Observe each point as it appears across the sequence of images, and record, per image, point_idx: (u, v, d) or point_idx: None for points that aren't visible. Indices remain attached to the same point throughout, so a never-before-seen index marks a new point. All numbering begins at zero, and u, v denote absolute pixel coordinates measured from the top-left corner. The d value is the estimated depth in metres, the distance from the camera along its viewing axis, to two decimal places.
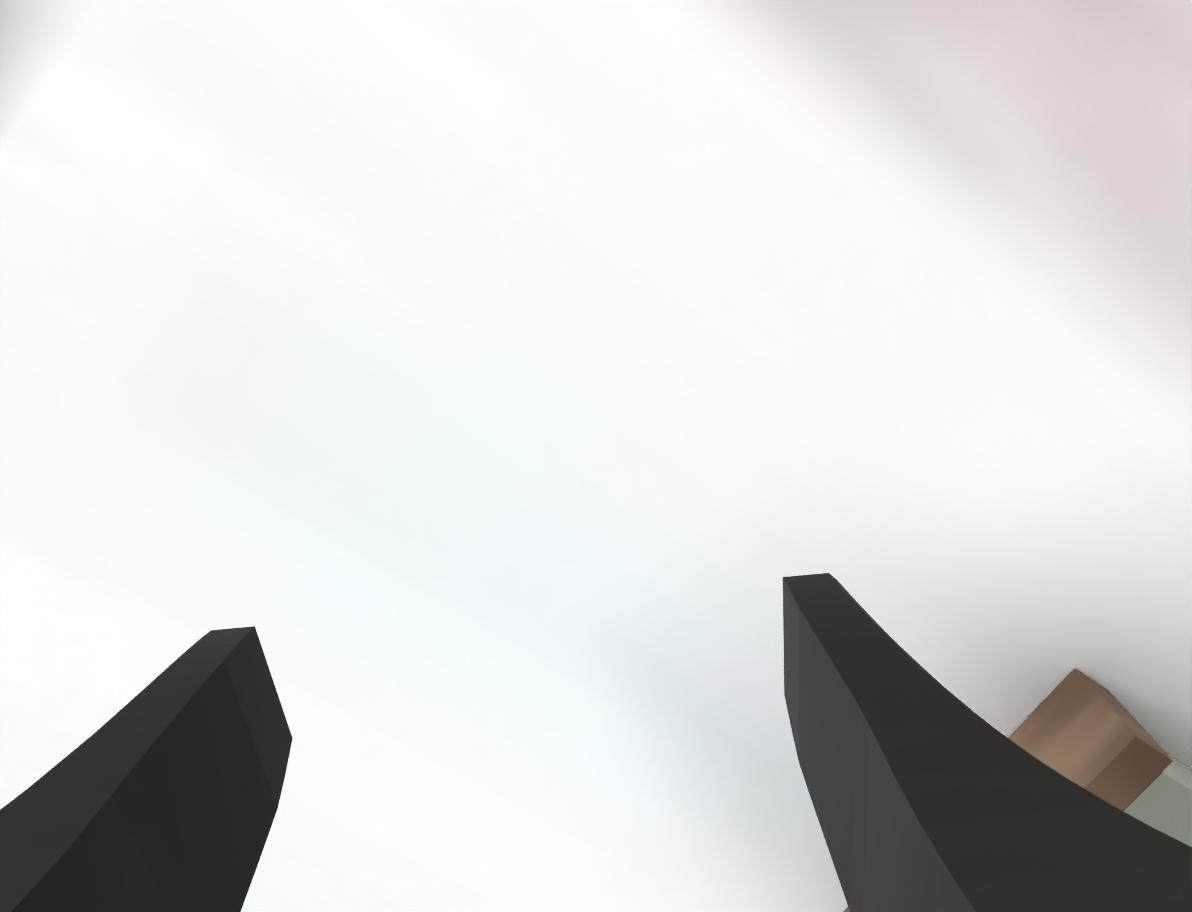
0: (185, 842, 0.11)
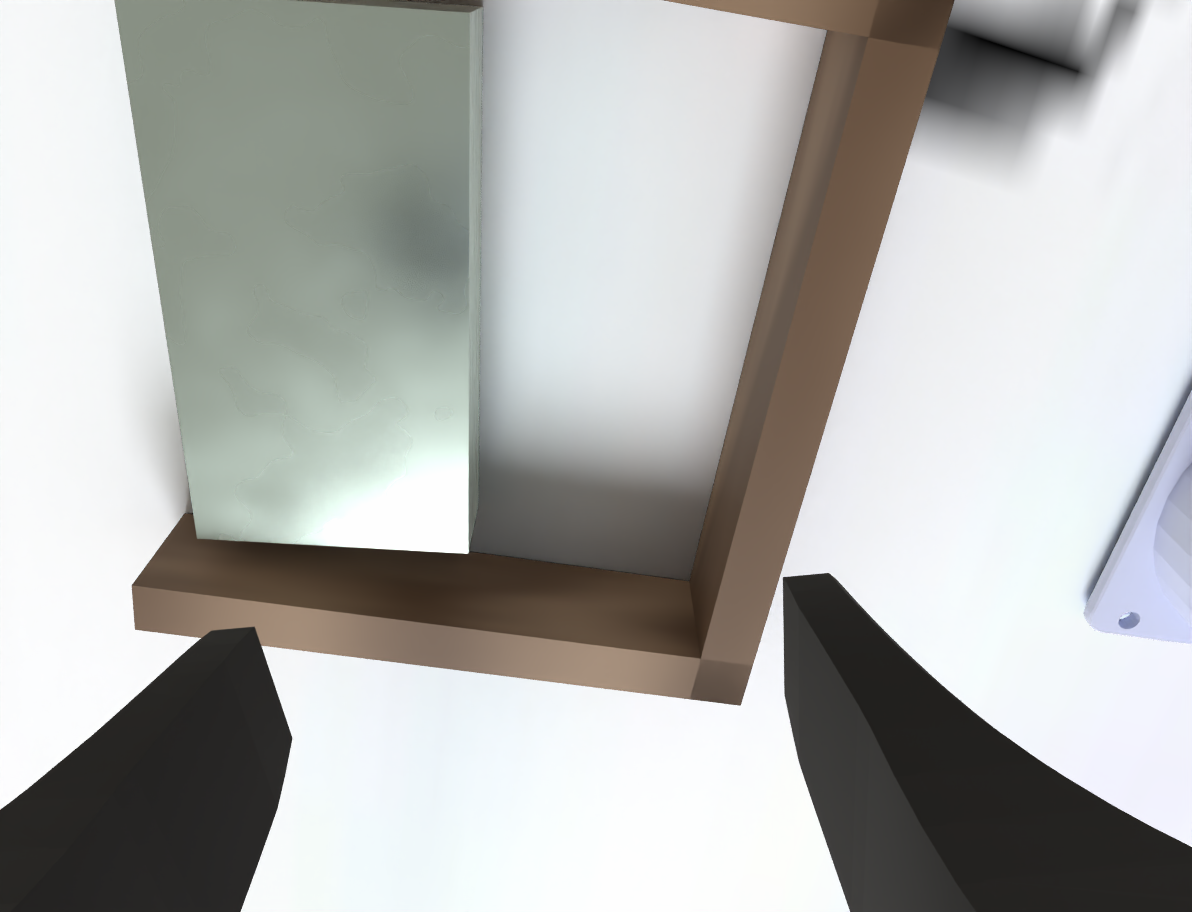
0: (185, 842, 0.11)
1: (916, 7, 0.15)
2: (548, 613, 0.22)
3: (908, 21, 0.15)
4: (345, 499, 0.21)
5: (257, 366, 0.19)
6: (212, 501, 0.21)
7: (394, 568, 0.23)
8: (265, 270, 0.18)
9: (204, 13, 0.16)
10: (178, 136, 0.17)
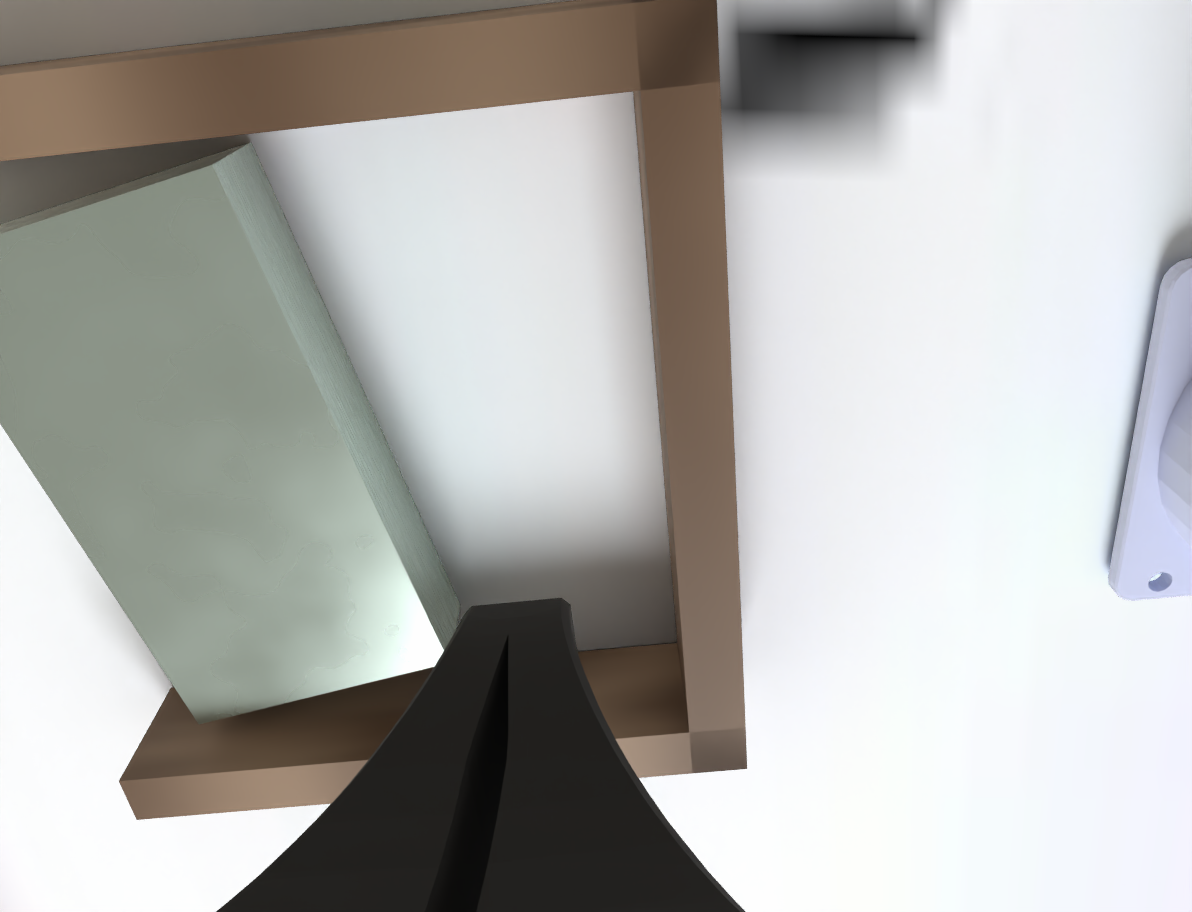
0: (497, 815, 0.11)
1: (680, 46, 0.14)
2: None
3: (676, 62, 0.14)
4: (313, 648, 0.21)
5: (177, 555, 0.19)
6: (196, 687, 0.21)
7: (373, 700, 0.22)
8: (143, 467, 0.18)
9: None
10: (13, 376, 0.18)
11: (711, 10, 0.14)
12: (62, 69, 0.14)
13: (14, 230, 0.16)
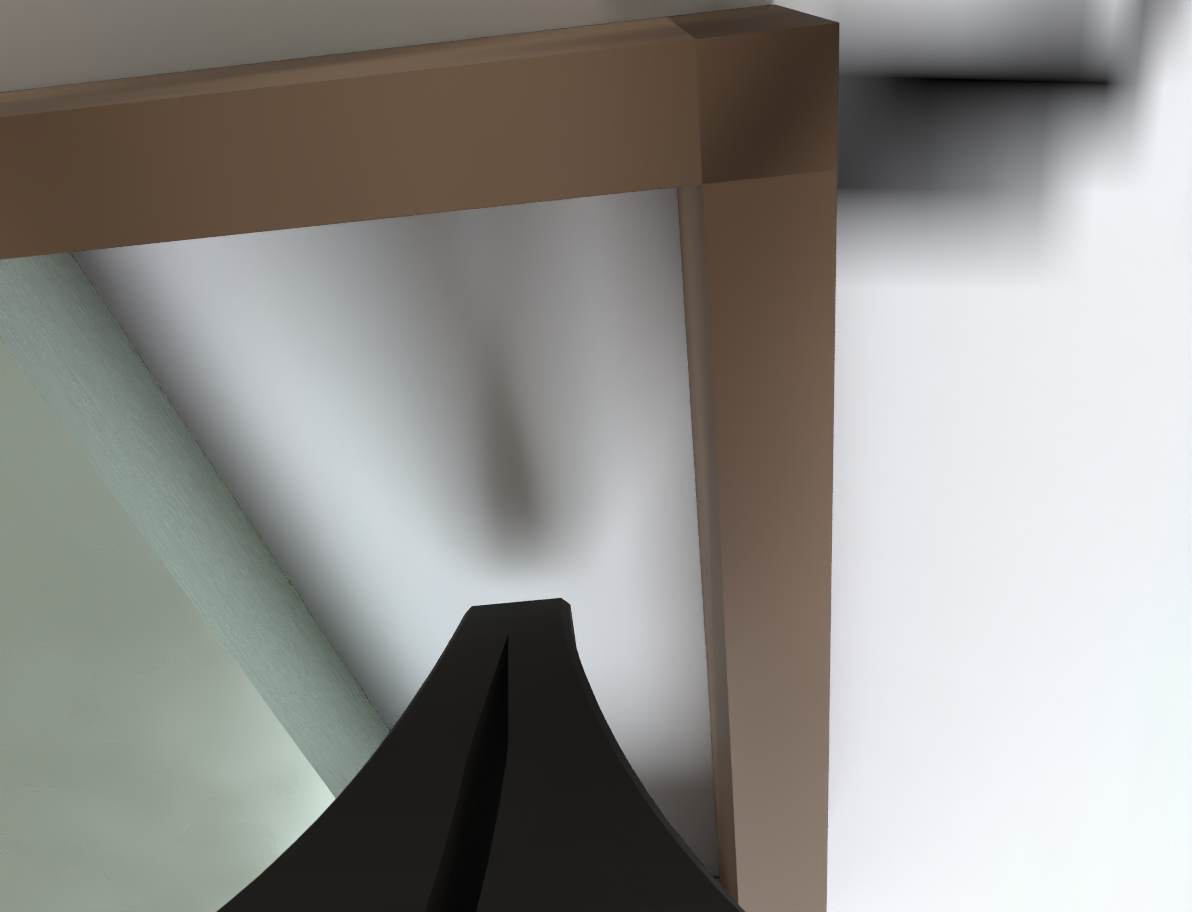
0: None
1: (772, 113, 0.08)
2: None
3: (765, 139, 0.08)
4: None
5: (25, 821, 0.14)
6: None
7: None
8: None
9: None
10: None
11: (828, 51, 0.08)
12: None
13: None
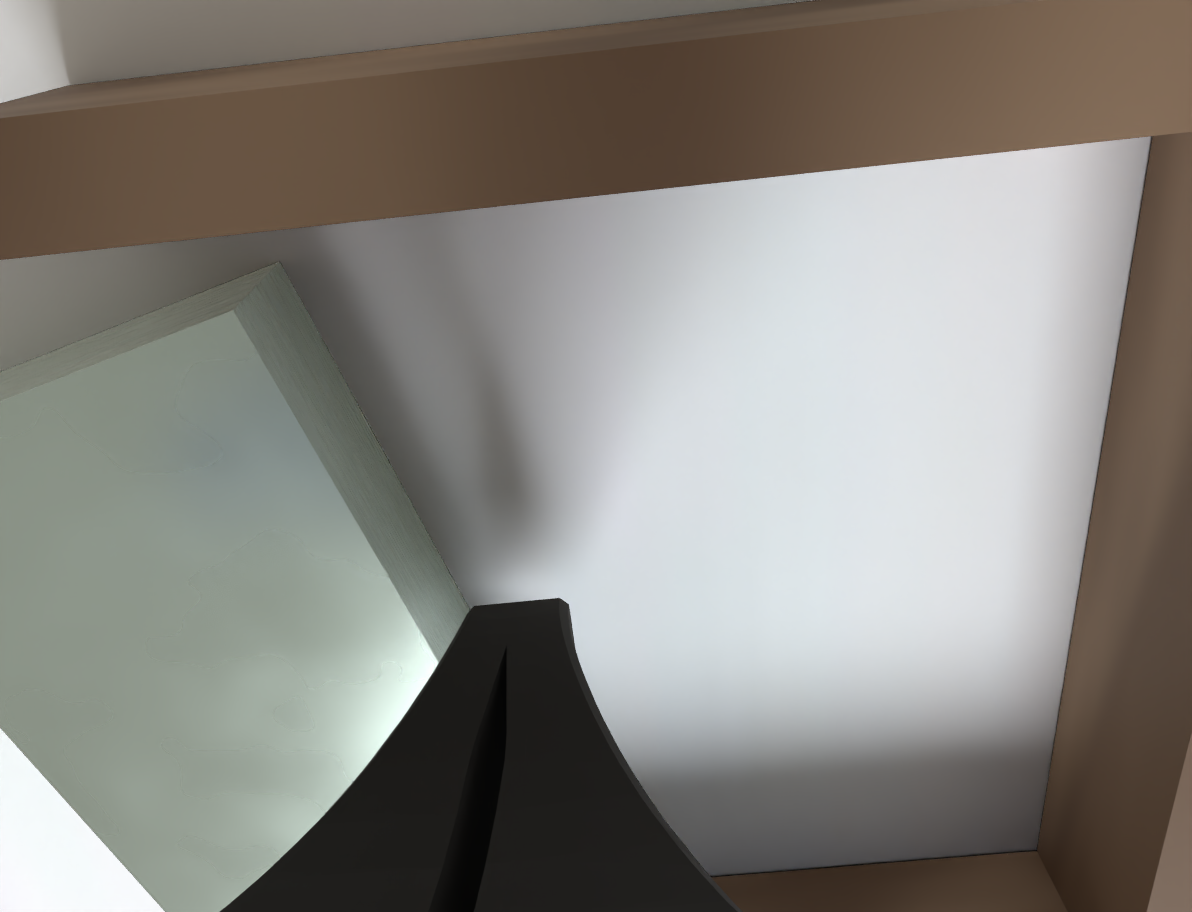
0: None
1: None
2: None
3: None
4: None
5: (218, 825, 0.14)
6: None
7: None
8: (162, 721, 0.13)
9: None
10: None
11: None
12: (359, 79, 0.08)
13: None
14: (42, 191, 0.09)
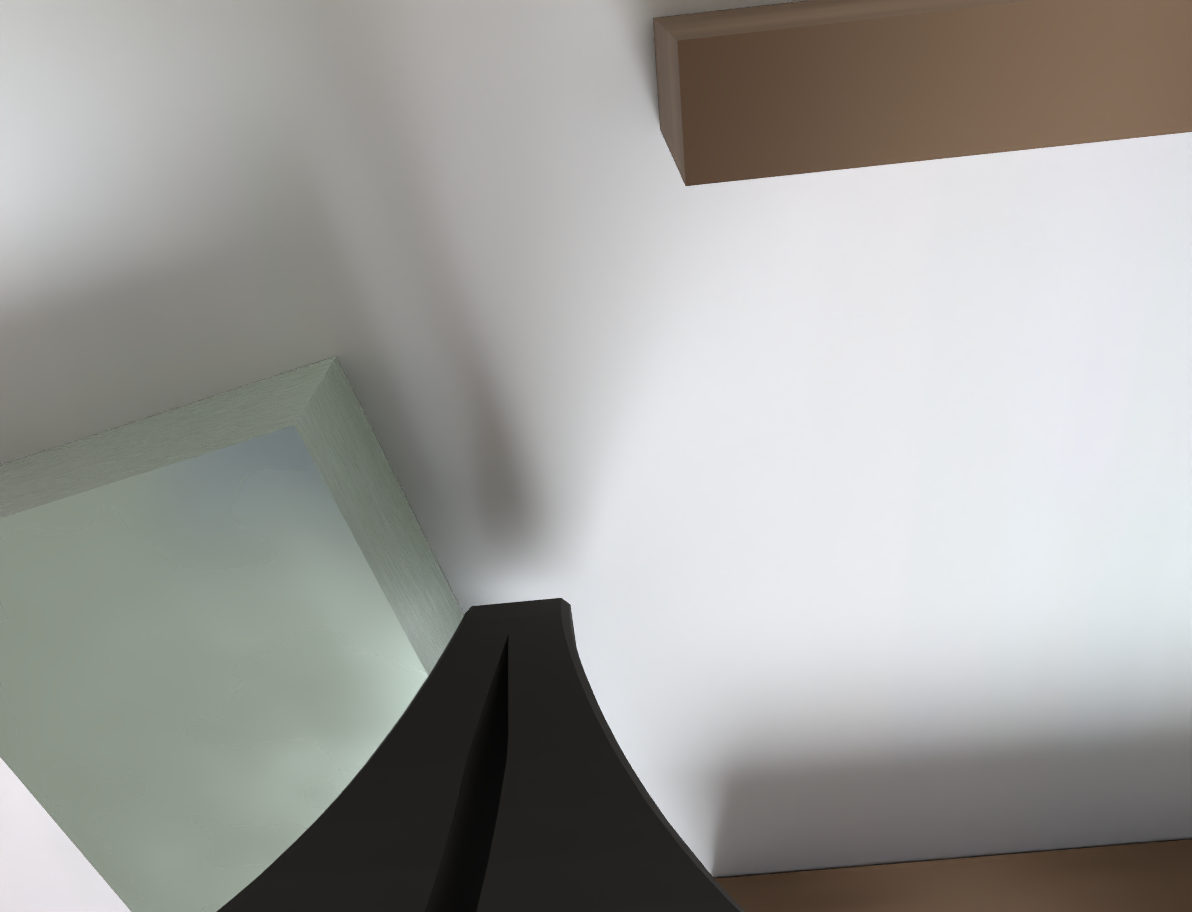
0: None
1: None
2: None
3: None
4: None
5: None
6: None
7: (1034, 909, 0.16)
8: (194, 796, 0.13)
9: None
10: (12, 695, 0.12)
11: None
12: None
13: (7, 517, 0.11)
14: (797, 108, 0.08)
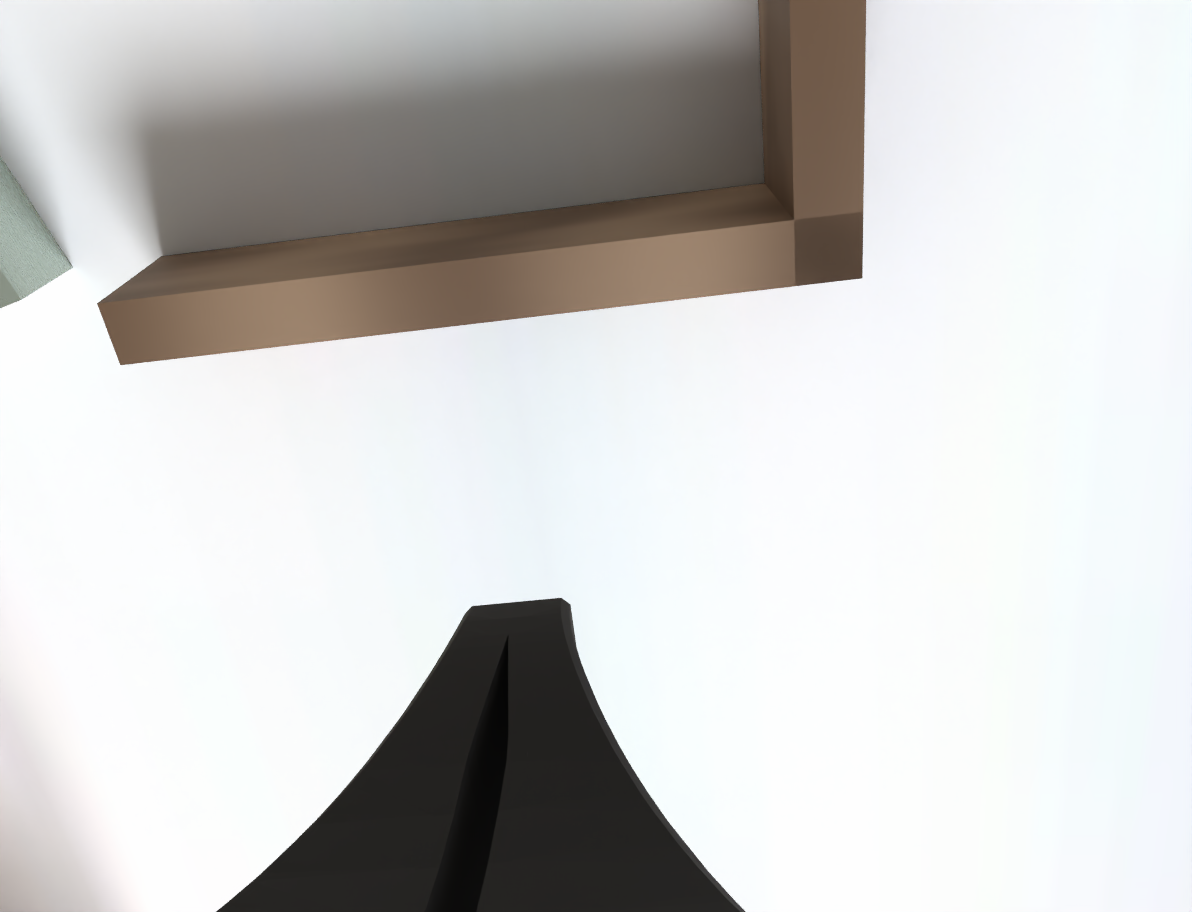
0: None
1: None
2: (594, 230, 0.18)
3: None
4: None
5: None
6: None
7: (404, 240, 0.19)
8: None
9: None
10: None
11: None
12: None
13: None
14: None
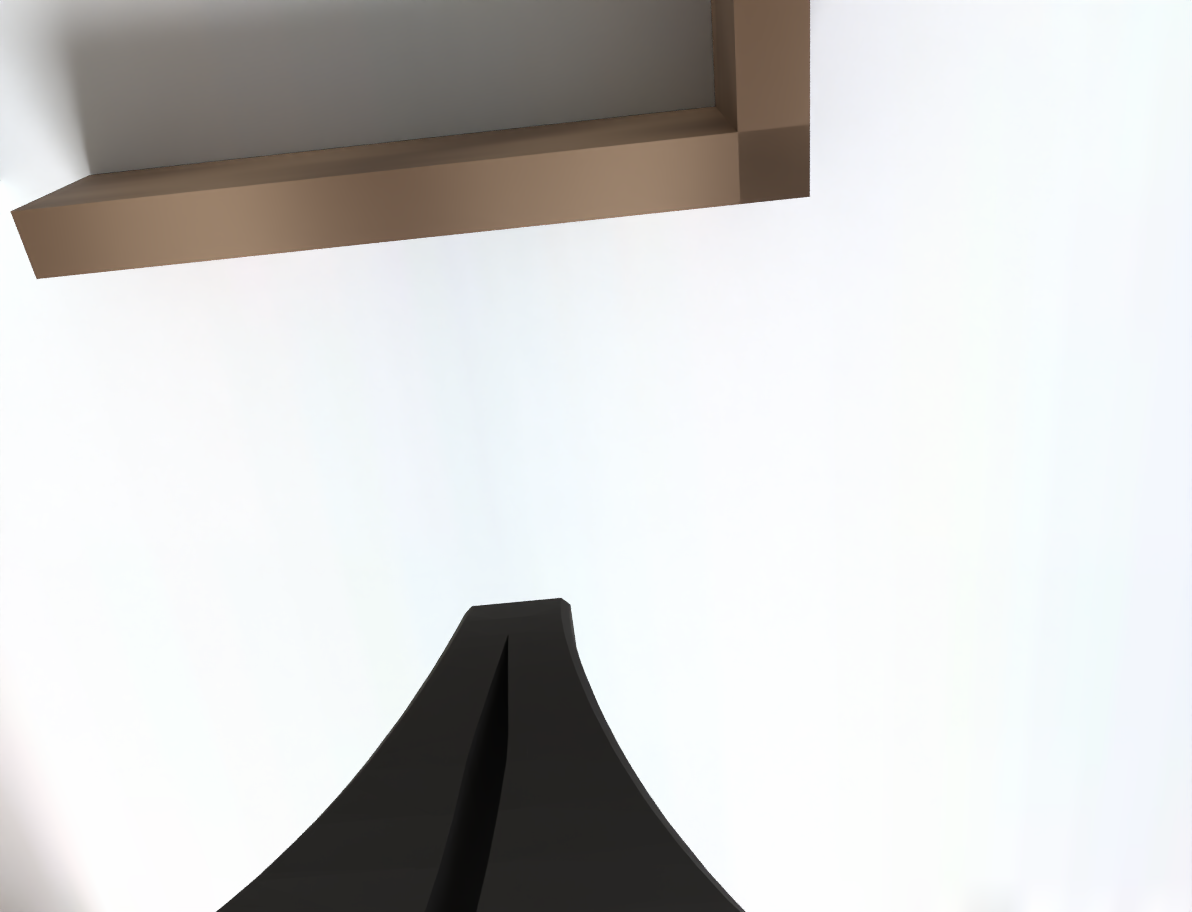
0: None
1: None
2: (533, 144, 0.17)
3: None
4: None
5: None
6: None
7: (338, 157, 0.18)
8: None
9: None
10: None
11: None
12: None
13: None
14: None
